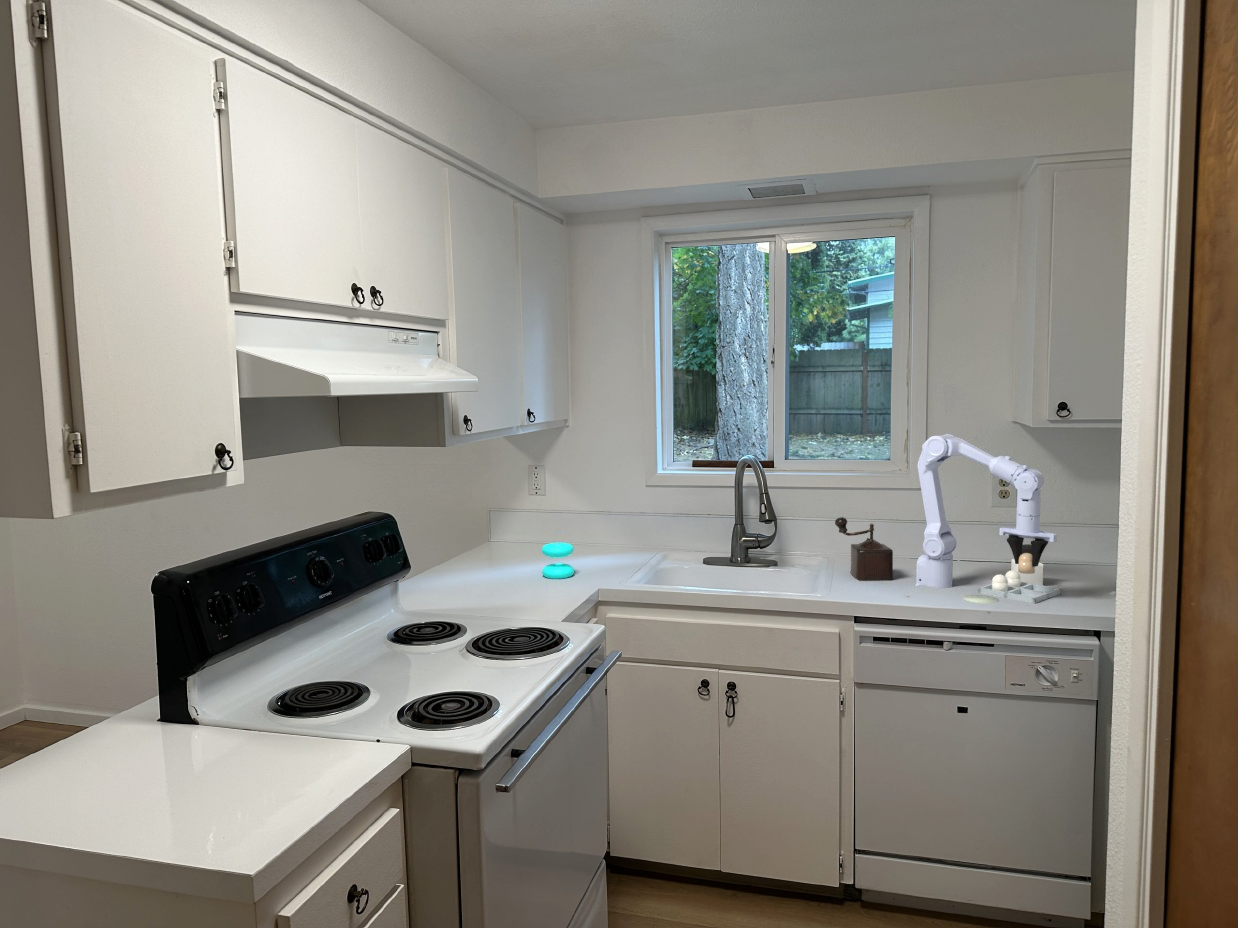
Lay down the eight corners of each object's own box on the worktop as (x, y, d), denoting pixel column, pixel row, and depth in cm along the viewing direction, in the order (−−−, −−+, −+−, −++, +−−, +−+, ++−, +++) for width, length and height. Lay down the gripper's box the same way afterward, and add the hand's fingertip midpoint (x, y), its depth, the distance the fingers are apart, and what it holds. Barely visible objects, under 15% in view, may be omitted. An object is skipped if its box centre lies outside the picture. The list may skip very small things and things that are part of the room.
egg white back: (1002, 588, 245) (1002, 570, 244) (1008, 586, 247) (1009, 568, 247) (1016, 590, 242) (1016, 572, 241) (1022, 588, 244) (1023, 570, 244)
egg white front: (989, 592, 240) (989, 574, 240) (996, 590, 243) (996, 572, 242) (1003, 595, 237) (1003, 576, 236) (1010, 592, 240) (1010, 574, 239)
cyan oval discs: (556, 540, 279) (580, 543, 273) (557, 571, 280) (580, 575, 274) (535, 545, 272) (558, 549, 265) (535, 576, 272) (559, 581, 266)
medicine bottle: (1043, 589, 247) (1044, 547, 245) (1016, 588, 248) (1017, 547, 247) (1036, 583, 253) (1037, 542, 252) (1010, 582, 255) (1011, 542, 254)
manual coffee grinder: (882, 572, 271) (883, 515, 269) (893, 580, 260) (894, 521, 258) (832, 573, 271) (833, 516, 269) (841, 581, 260) (842, 522, 258)
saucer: (956, 601, 234) (956, 598, 234) (973, 595, 240) (973, 593, 240) (988, 607, 228) (988, 604, 227) (1005, 601, 233) (1005, 599, 233)
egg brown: (1015, 572, 234) (1016, 553, 233) (1022, 569, 236) (1023, 551, 236) (1030, 574, 231) (1031, 555, 230) (1037, 572, 233) (1037, 553, 233)
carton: (978, 595, 240) (978, 587, 240) (1005, 586, 250) (1005, 578, 250) (1034, 606, 229) (1034, 598, 228) (1060, 596, 238) (1060, 588, 238)
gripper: (1062, 516, 229) (1061, 566, 230) (1008, 510, 240) (1007, 558, 241) (1050, 519, 224) (1049, 570, 226) (996, 513, 236) (994, 562, 237)
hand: (1026, 564), depth 233 cm, fingers closed on egg brown, 4 cm apart
